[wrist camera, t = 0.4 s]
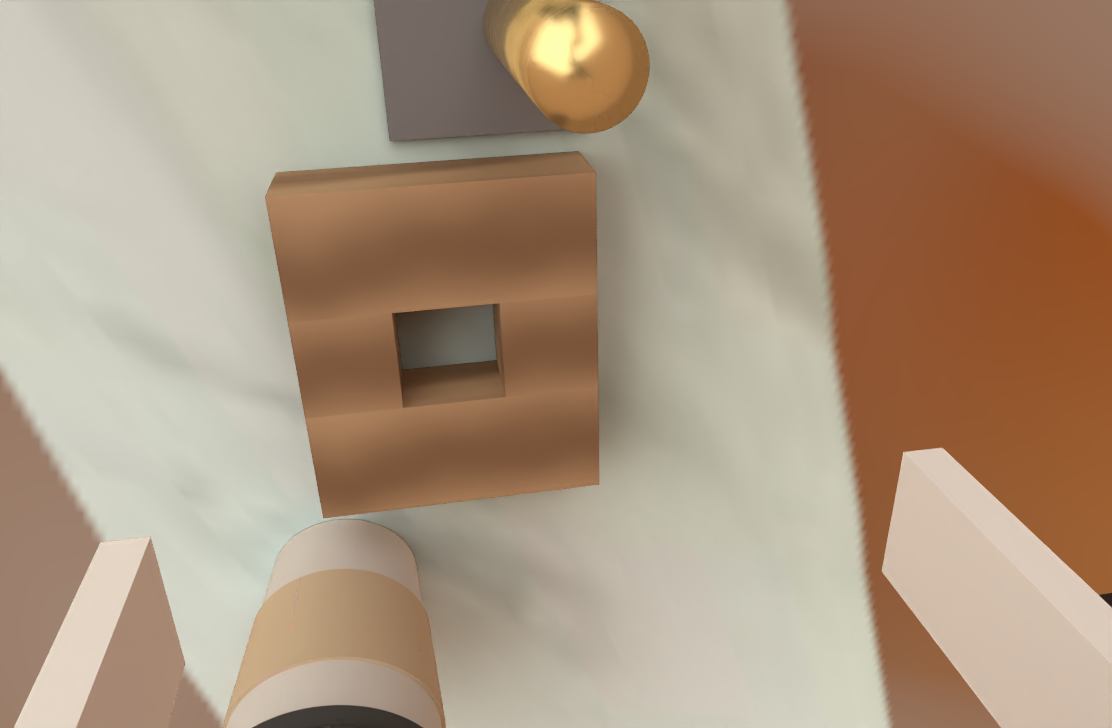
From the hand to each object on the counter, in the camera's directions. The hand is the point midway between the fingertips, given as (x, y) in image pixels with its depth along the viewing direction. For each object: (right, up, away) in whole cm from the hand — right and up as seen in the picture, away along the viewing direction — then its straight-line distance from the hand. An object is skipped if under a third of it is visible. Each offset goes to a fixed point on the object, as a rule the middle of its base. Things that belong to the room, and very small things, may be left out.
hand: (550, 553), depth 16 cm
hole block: (-5, +5, +23) cm, 24 cm away
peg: (-1, +16, +18) cm, 24 cm away
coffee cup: (-10, -7, +28) cm, 31 cm away
